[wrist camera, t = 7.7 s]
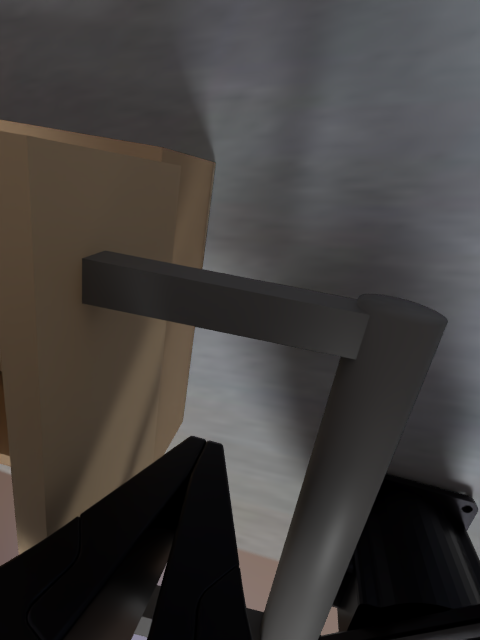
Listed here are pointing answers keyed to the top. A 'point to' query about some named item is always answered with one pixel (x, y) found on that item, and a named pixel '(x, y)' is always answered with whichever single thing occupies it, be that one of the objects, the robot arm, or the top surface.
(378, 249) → the top surface
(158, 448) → the kraft carton
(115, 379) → the carton flap
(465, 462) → the top surface
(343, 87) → the top surface
